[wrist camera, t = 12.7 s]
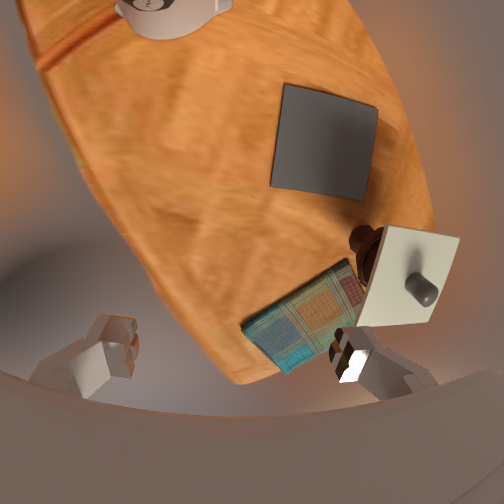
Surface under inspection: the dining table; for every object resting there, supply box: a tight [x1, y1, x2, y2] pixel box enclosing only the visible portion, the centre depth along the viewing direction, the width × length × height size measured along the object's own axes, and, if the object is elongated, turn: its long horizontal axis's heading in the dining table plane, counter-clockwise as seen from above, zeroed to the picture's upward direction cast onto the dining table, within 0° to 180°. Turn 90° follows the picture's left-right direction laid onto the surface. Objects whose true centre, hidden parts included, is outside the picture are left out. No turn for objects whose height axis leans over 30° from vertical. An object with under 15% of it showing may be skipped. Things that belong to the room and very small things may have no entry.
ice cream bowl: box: [349, 226, 384, 288], centre depth 40 cm, size 11×11×15 cm
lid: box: [354, 224, 460, 327], centre depth 31 cm, size 14×14×5 cm
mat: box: [270, 85, 378, 201], centre depth 39 cm, size 16×16×1 cm
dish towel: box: [241, 259, 364, 374], centre depth 52 cm, size 17×23×2 cm
